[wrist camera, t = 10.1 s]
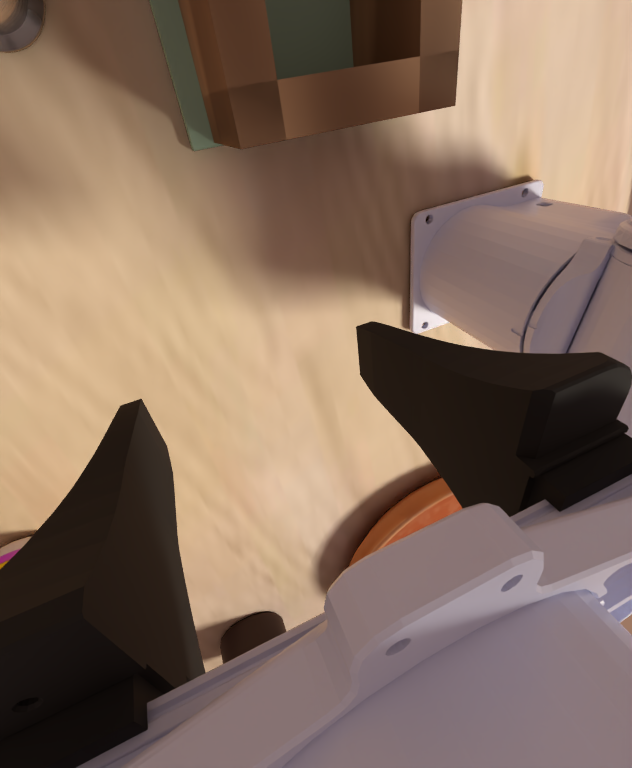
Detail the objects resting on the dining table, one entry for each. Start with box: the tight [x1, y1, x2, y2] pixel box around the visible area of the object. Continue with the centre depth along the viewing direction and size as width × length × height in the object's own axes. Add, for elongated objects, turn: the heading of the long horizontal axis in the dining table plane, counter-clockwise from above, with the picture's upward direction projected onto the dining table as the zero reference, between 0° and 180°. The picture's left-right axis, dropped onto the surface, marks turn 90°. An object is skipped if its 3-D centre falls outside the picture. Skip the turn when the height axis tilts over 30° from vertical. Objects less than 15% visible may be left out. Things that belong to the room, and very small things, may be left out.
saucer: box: [349, 478, 463, 567], centre depth 44 cm, size 23×23×4 cm
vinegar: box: [220, 612, 286, 664], centre depth 33 cm, size 7×7×20 cm
